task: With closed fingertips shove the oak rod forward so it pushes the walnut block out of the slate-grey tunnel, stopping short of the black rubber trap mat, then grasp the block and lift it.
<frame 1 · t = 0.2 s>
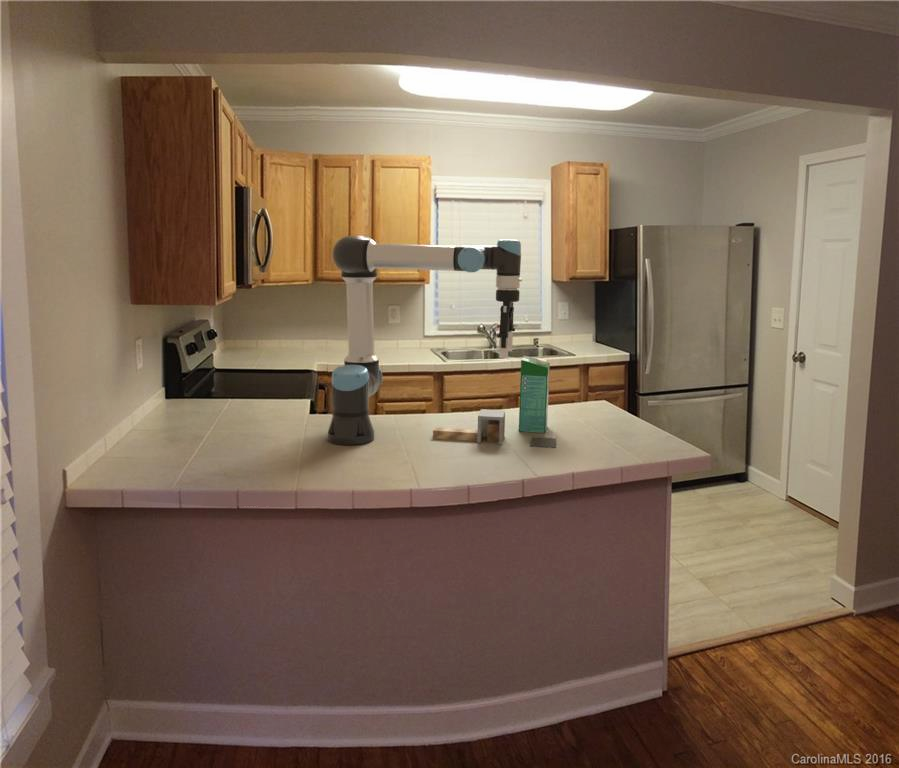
hand: (505, 354, 234), 28 cm above the worktop, fingers open, 13 cm apart
trap mat: (543, 442, 232), on the worktop
block: (495, 440, 235), on the worktop
milk carton: (533, 429, 248), on the worktop
rod: (457, 439, 237), on the worktop
tunnel: (491, 439, 235), on the worktop
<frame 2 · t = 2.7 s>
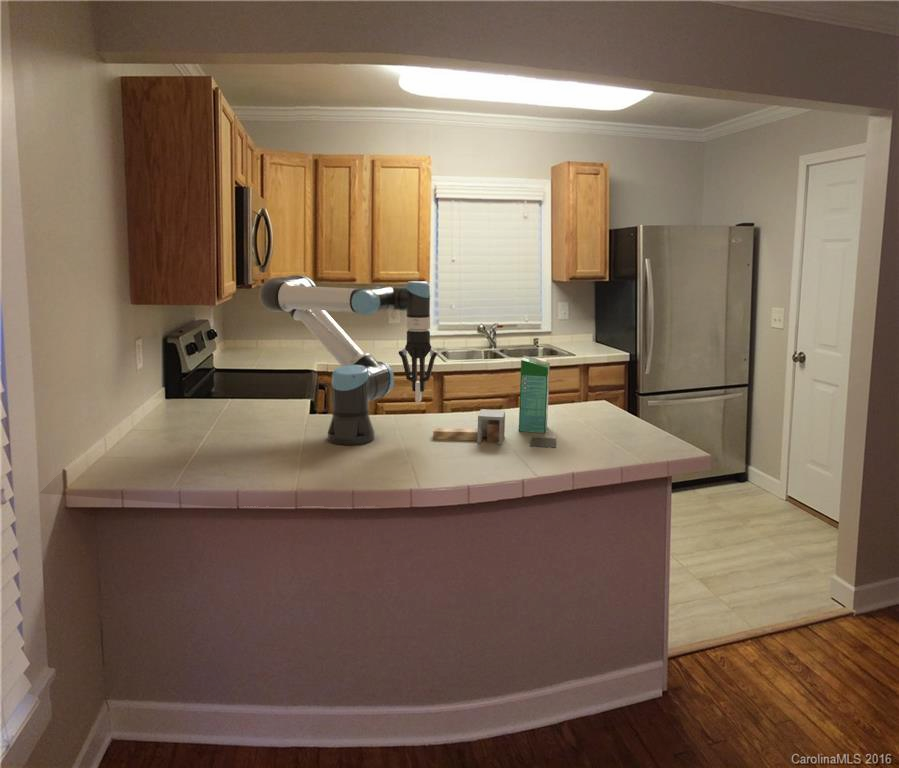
hand: (418, 401, 236), 12 cm above the worktop, fingers closed
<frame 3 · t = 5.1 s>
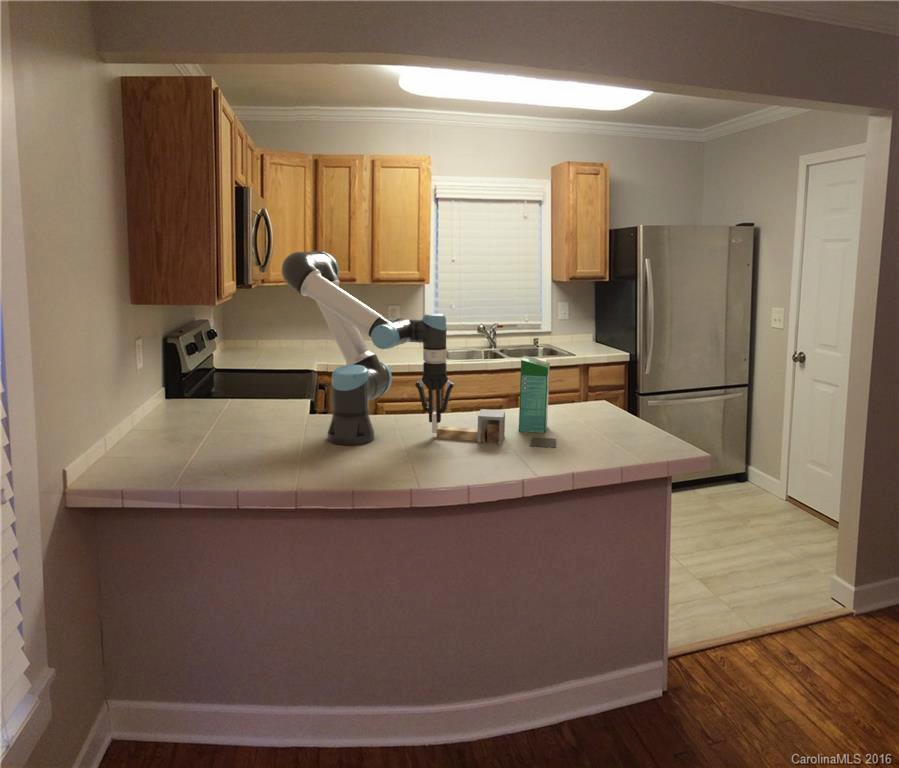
hand: (434, 431, 237), 2 cm above the worktop, fingers closed
rod: (461, 438, 237), on the worktop, touching gripper
everything else where it was.
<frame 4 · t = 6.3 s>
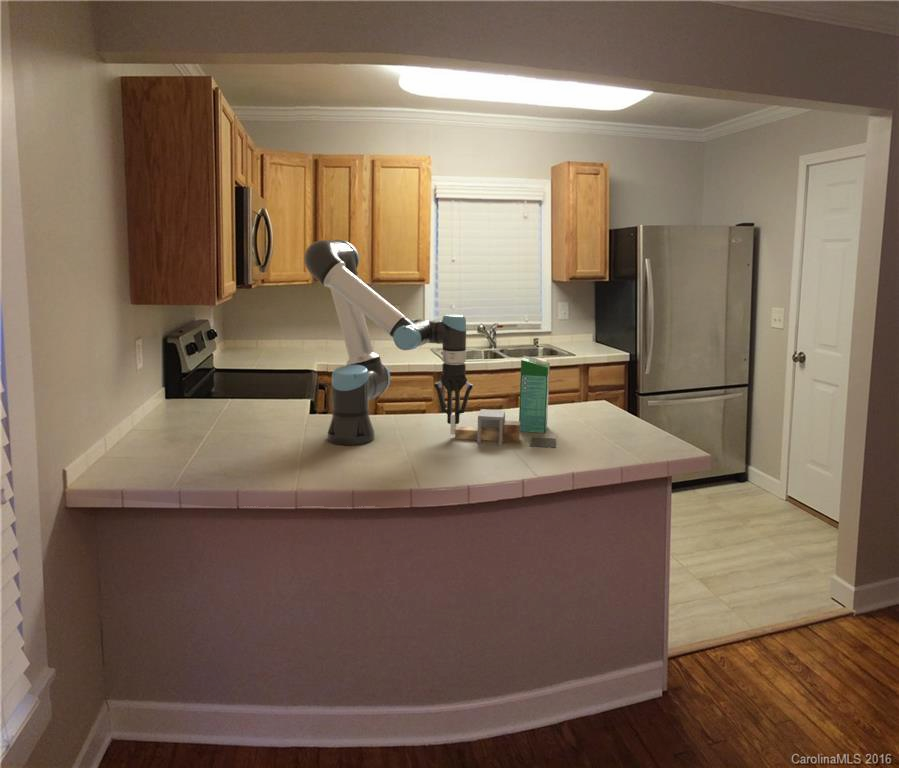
hand: (453, 433, 236), 2 cm above the worktop, fingers closed
block: (511, 440, 234), on the worktop, touching rod
rod: (479, 438, 237), on the worktop, touching block, gripper
everything else where it was.
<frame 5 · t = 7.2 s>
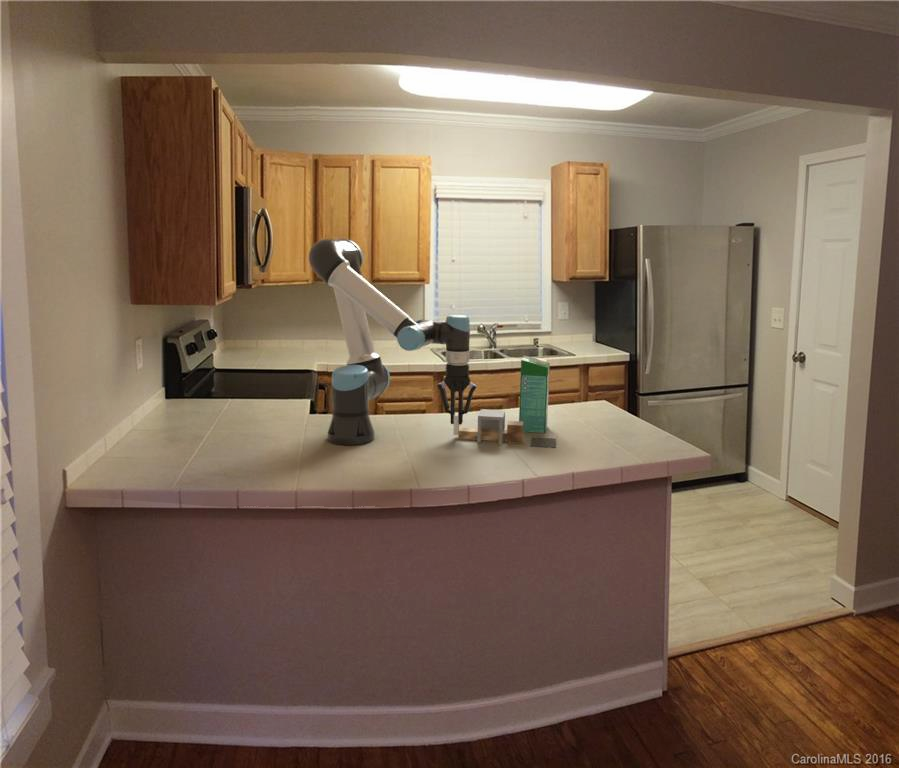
hand: (456, 433, 236), 1 cm above the worktop, fingers closed
block: (514, 440, 234), on the worktop
rod: (483, 439, 237), on the worktop
everything else where it was.
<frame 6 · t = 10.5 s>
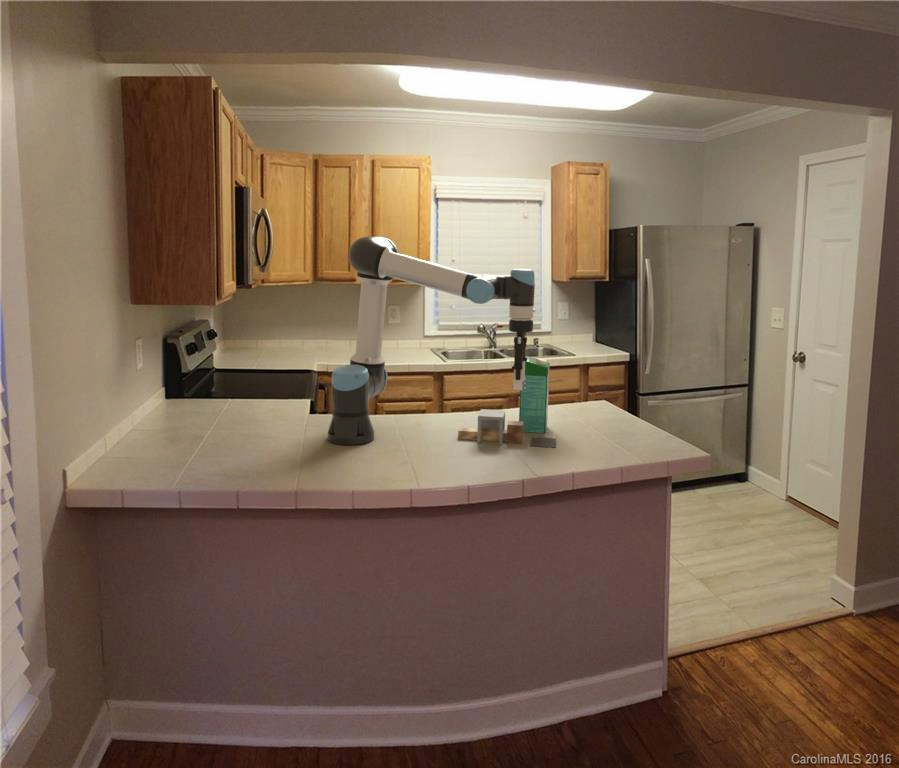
hand: (519, 385, 230), 19 cm above the worktop, fingers open, 13 cm apart
nothing on the worktop moved.
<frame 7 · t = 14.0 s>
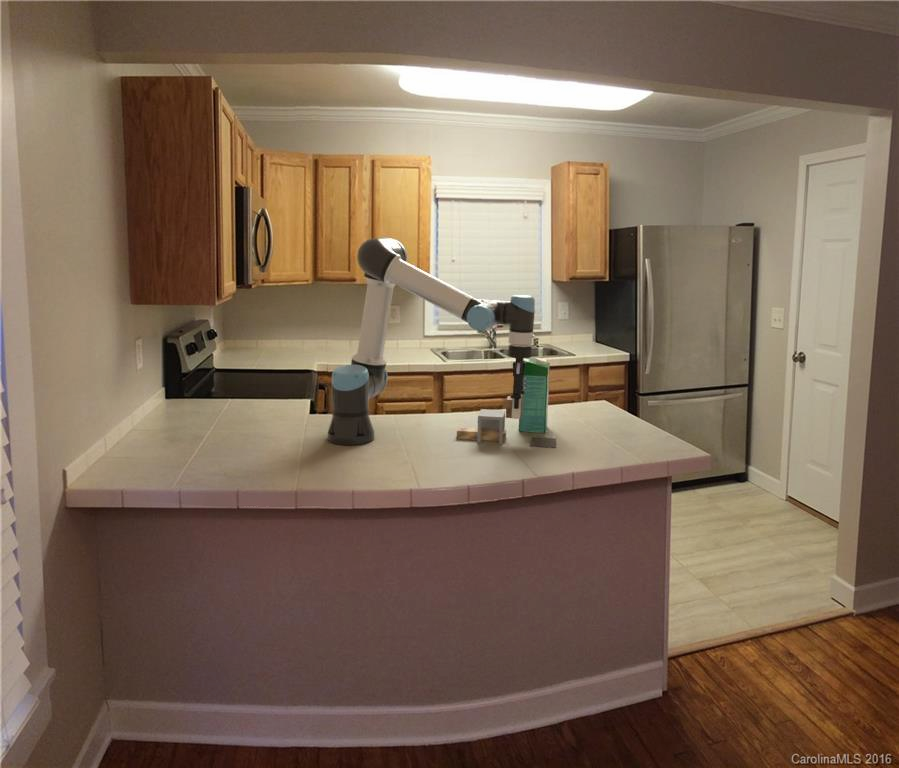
hand: (516, 415, 232), 9 cm above the worktop, fingers closed on block, 5 cm apart
block: (514, 416, 232), point 8 cm above the worktop, touching gripper
everything else where it was.
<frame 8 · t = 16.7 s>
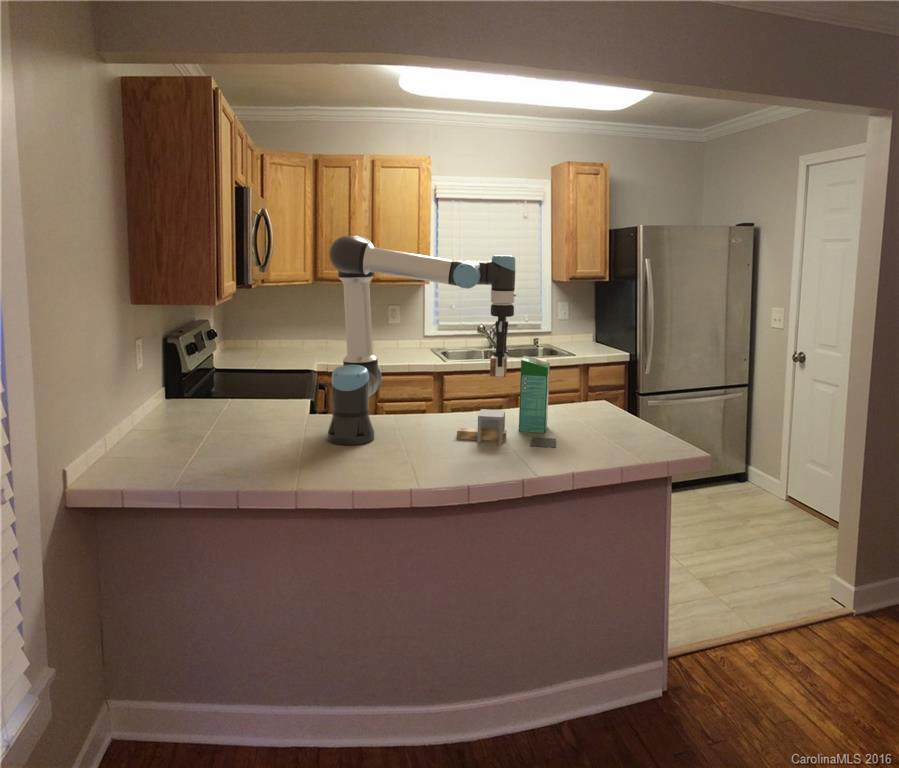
hand: (500, 374, 236), 21 cm above the worktop, fingers closed on block, 5 cm apart
block: (498, 375, 236), point 20 cm above the worktop, touching gripper
everything else where it was.
at the end: the gripper is holding block; block point 20.4 cm above the worktop; block moved 21.3 cm from its start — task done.
